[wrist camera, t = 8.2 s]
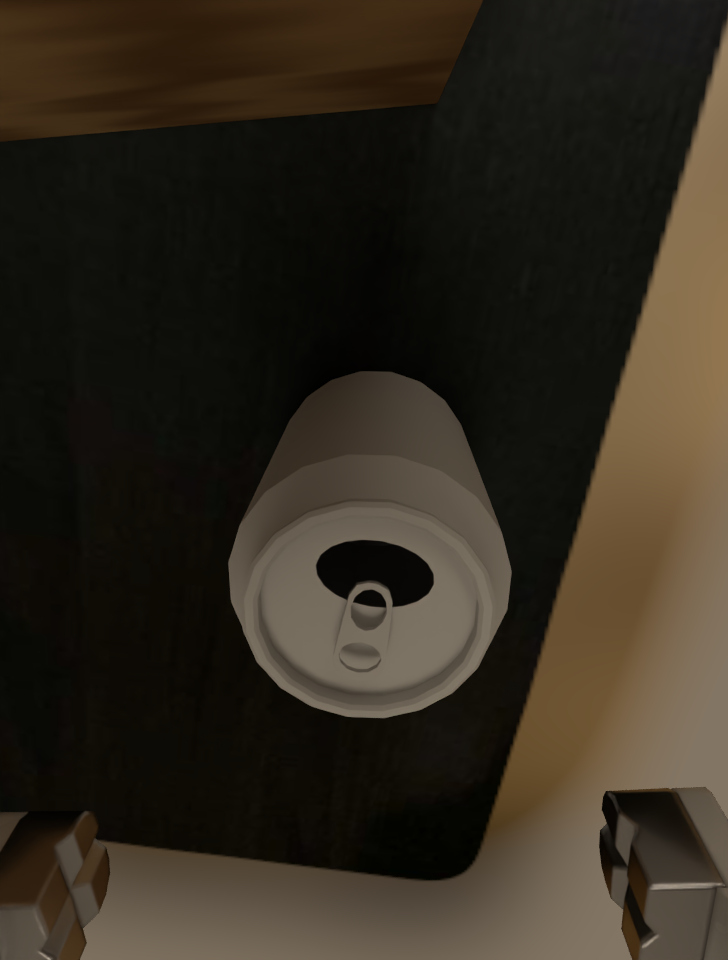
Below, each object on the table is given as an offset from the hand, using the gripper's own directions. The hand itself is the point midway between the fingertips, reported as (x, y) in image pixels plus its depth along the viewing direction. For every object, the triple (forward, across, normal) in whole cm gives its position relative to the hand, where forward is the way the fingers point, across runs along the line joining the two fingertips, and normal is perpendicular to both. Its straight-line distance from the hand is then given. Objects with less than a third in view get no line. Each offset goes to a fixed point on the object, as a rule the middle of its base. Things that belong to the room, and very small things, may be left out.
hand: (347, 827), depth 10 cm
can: (+18, 0, 0) cm, 18 cm away
